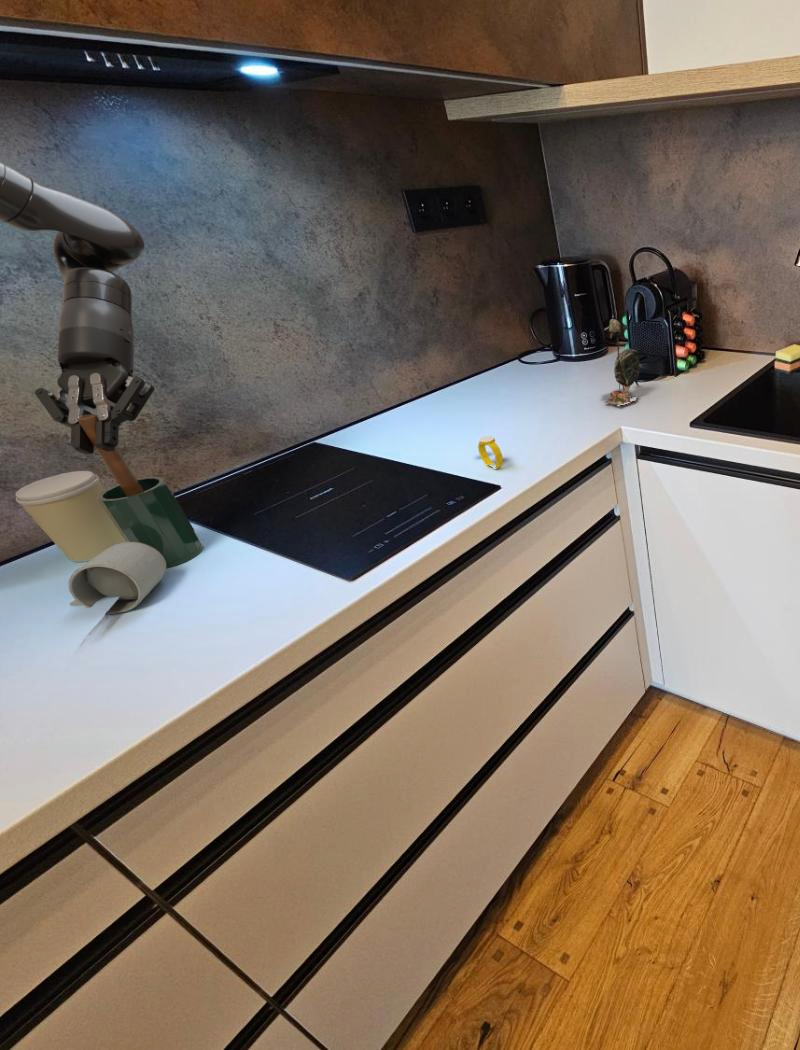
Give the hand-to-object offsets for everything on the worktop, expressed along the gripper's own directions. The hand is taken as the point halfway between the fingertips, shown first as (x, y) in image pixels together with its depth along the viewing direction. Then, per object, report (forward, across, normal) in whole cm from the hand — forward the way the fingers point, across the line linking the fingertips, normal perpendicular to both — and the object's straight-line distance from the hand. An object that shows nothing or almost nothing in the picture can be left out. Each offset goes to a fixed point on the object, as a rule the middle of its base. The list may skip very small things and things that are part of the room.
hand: (94, 450), depth 80 cm
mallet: (+8, 0, +11) cm, 14 cm away
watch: (+1, +48, +27) cm, 55 cm away
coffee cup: (+7, -14, +20) cm, 25 cm away
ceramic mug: (+20, -1, +7) cm, 21 cm away
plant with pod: (-19, +77, +47) cm, 92 cm away
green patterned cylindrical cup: (+12, 0, +15) cm, 19 cm away
